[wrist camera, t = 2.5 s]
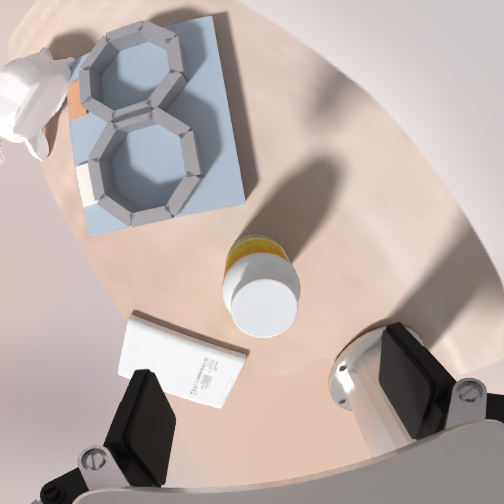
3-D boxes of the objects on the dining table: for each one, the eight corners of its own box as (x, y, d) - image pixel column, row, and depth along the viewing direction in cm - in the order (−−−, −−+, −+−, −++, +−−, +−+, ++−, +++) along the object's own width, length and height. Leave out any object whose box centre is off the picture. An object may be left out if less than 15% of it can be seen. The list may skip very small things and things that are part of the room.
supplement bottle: (296, 268, 27) (325, 318, 17) (248, 300, 27) (254, 361, 18) (263, 220, 25) (278, 249, 16) (213, 255, 26) (201, 301, 17)
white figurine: (54, 75, 23) (-23, 179, 20) (30, 29, 15) (-67, 153, 12) (98, 96, 24) (11, 215, 21) (75, 43, 16) (-40, 192, 13)
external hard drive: (133, 311, 28) (246, 351, 30) (121, 367, 30) (221, 401, 31) (128, 318, 26) (246, 360, 28) (117, 375, 28) (220, 411, 30)
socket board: (245, 201, 25) (246, 207, 20) (99, 232, 25) (76, 244, 21) (213, 25, 20) (209, 1, 16) (76, 68, 20) (52, 56, 16)
